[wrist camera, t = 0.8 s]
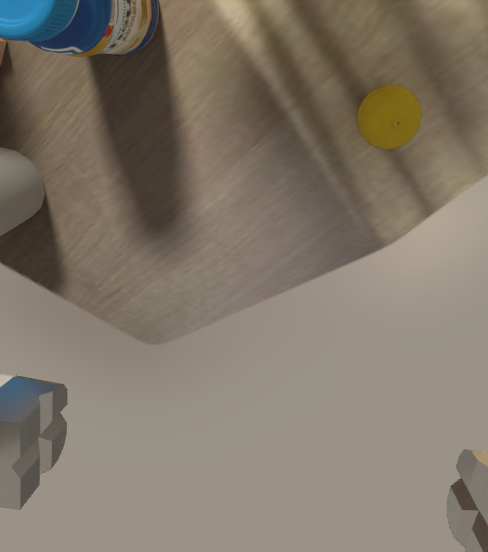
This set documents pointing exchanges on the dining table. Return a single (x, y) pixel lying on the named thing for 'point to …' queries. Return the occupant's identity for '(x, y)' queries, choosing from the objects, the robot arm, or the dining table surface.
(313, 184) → the dining table surface
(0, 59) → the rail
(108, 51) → the beverage bottle
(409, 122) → the lemon
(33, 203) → the cup
